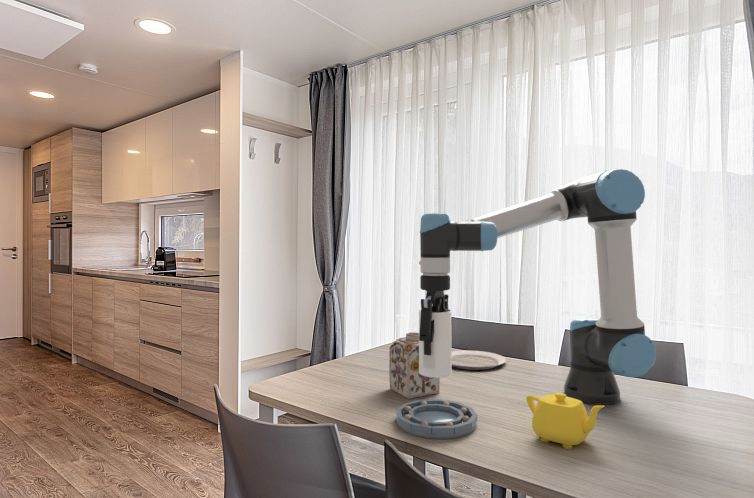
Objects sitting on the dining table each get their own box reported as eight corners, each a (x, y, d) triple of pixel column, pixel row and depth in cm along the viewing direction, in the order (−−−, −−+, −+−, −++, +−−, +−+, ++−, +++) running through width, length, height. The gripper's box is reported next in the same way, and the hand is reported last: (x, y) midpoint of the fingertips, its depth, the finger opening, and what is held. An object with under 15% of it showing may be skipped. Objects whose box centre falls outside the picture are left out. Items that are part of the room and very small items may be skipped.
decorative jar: (388, 388, 146) (388, 332, 146) (419, 383, 151) (419, 328, 151) (408, 400, 136) (407, 338, 135) (440, 393, 141) (440, 334, 141)
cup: (450, 378, 113) (450, 313, 113) (417, 376, 115) (417, 312, 115) (452, 369, 121) (452, 308, 121) (420, 368, 123) (420, 307, 123)
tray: (485, 416, 122) (485, 406, 122) (462, 445, 104) (462, 433, 104) (415, 404, 131) (415, 395, 131) (383, 429, 114) (383, 419, 114)
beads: (478, 412, 122) (478, 405, 122) (458, 436, 106) (458, 429, 106) (417, 402, 130) (417, 396, 130) (390, 423, 114) (390, 416, 114)
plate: (427, 358, 186) (427, 353, 186) (483, 353, 194) (483, 348, 194) (457, 375, 162) (457, 369, 162) (520, 368, 170) (520, 363, 170)
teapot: (613, 444, 104) (613, 397, 104) (595, 461, 96) (595, 410, 96) (536, 423, 117) (536, 381, 117) (515, 436, 109) (515, 391, 109)
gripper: (435, 271, 129) (436, 353, 129) (404, 276, 110) (404, 371, 110) (462, 272, 125) (462, 356, 125) (434, 277, 107) (434, 375, 107)
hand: (435, 363), depth 118 cm, fingers closed on cup, 8 cm apart
